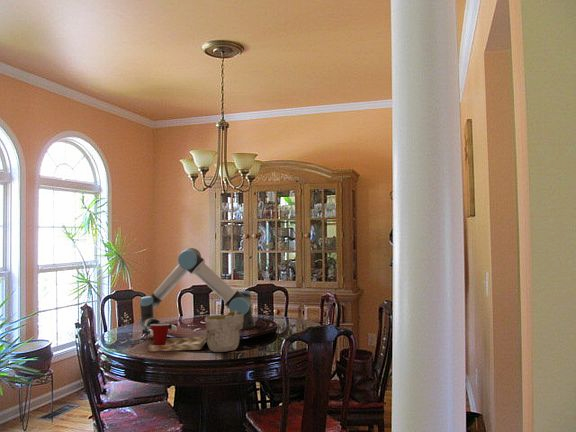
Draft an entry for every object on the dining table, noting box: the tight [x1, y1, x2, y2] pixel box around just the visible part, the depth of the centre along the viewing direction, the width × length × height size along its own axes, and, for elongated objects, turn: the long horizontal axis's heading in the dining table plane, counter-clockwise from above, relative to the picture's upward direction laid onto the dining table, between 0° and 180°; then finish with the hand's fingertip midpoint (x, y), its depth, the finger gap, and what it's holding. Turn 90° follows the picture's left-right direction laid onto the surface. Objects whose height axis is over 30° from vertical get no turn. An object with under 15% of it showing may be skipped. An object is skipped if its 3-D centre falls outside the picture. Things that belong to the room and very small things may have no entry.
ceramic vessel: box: [204, 311, 244, 353], centre depth 268 cm, size 23×24×25 cm
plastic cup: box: [151, 323, 170, 345], centre depth 277 cm, size 11×11×12 cm
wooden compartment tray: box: [147, 336, 207, 352], centre depth 276 cm, size 29×15×3 cm, turn 87°
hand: (164, 331), depth 277 cm, fingers open, 13 cm apart
